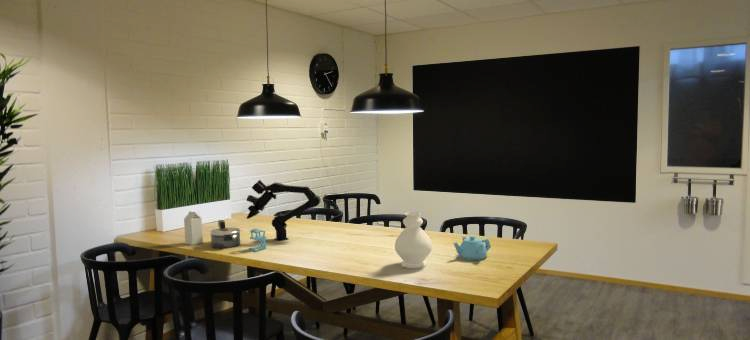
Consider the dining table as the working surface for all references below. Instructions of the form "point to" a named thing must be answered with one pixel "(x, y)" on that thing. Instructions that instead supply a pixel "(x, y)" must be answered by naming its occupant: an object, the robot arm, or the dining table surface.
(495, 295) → the dining table surface
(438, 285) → the dining table surface
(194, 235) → the milk carton
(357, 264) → the dining table surface
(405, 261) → the decorative vase
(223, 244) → the cooker pot
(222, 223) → the cooker lid
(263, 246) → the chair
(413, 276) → the dining table surface
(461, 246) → the teapot
